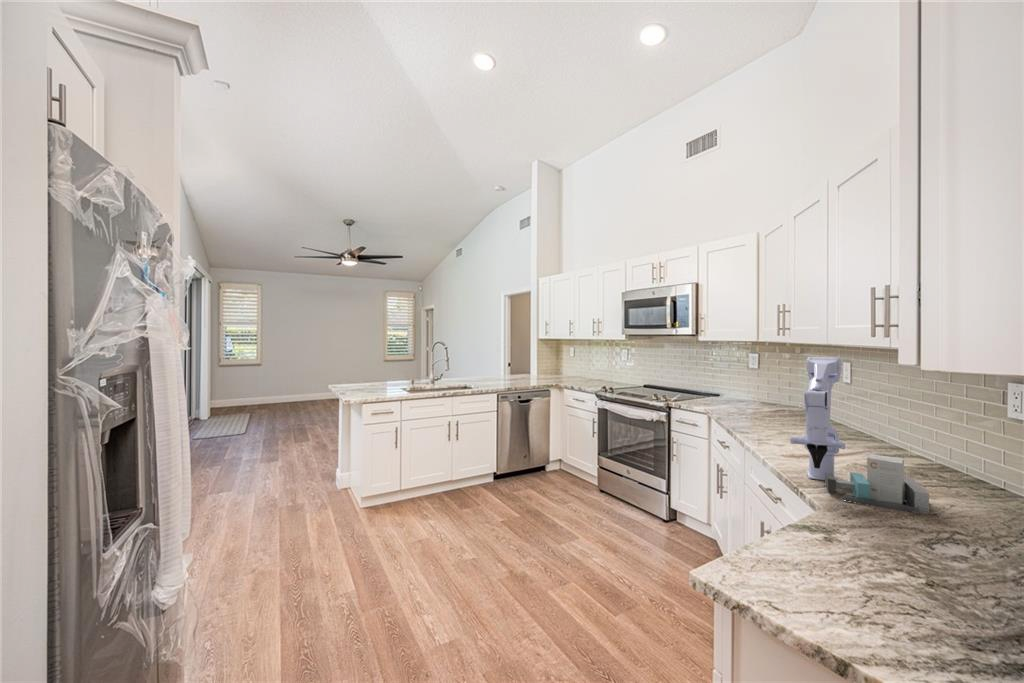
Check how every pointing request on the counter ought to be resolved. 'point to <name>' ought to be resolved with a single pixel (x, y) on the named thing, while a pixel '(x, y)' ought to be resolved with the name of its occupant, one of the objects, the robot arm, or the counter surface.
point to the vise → (912, 496)
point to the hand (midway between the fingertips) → (816, 467)
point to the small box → (886, 478)
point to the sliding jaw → (850, 484)
